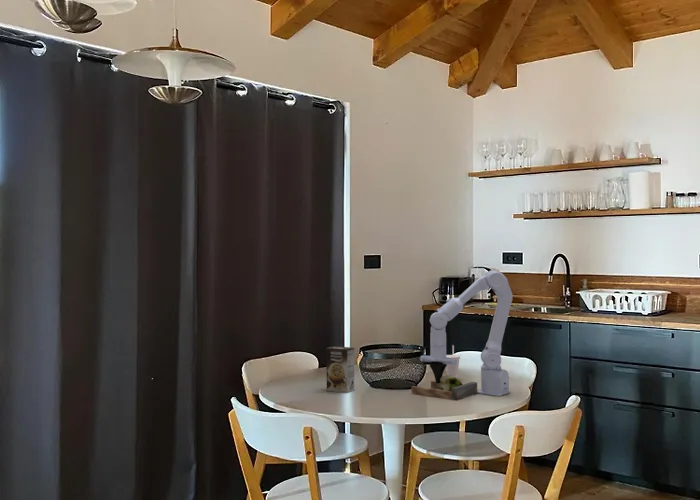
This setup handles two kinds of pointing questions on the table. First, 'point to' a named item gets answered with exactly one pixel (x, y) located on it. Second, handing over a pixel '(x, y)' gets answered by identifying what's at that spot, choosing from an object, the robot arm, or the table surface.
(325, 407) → the table surface
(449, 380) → the fruit
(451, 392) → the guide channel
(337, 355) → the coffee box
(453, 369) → the smoothie
